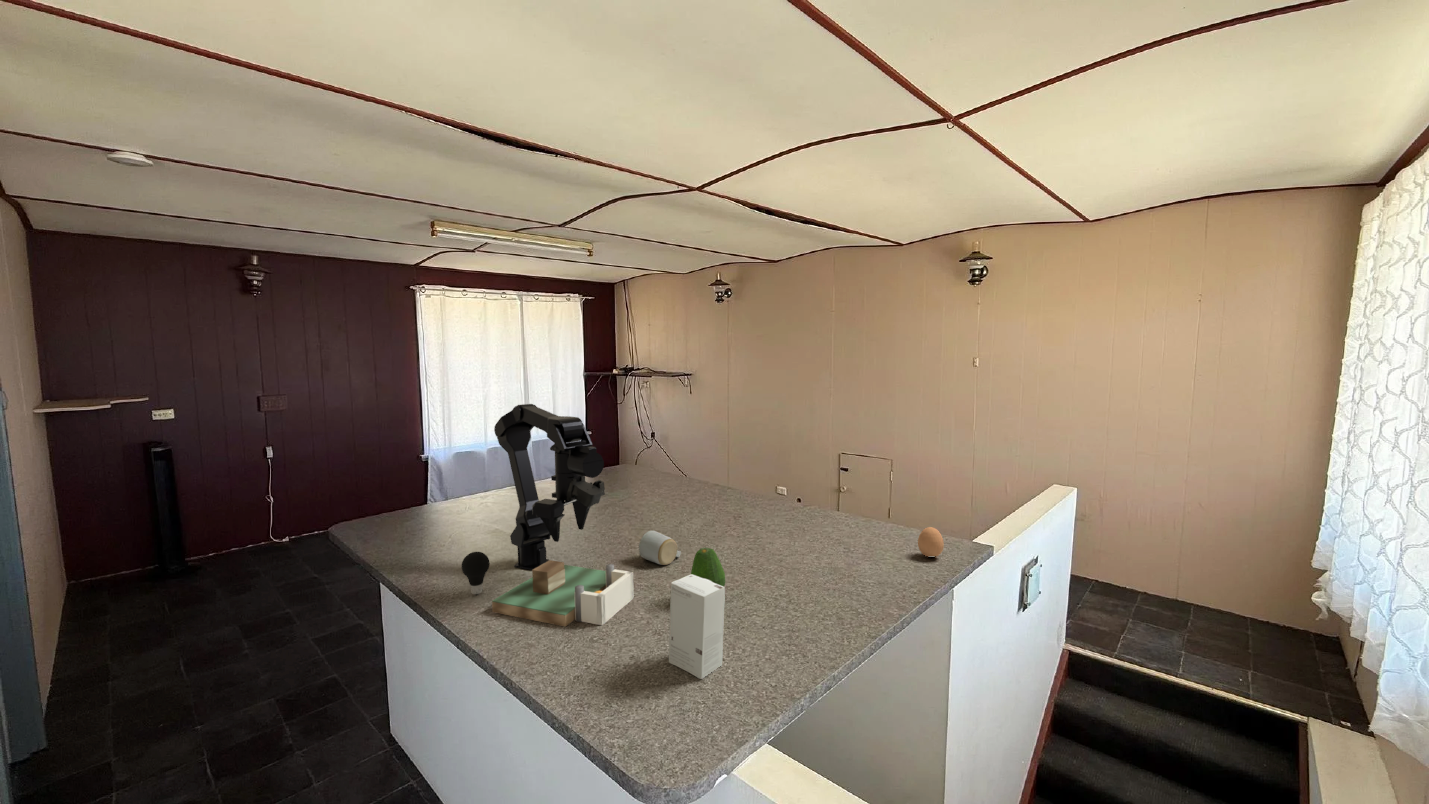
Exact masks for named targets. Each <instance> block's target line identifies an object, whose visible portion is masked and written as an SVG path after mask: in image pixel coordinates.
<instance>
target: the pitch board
mask: <svg viewBox="0 0 1429 804" xmlns="http://www.w3.org/2000/svg"><path fill="white" fill-rule="evenodd" d="M564 569H565V584H564V585H562V586H560V587H559V588H557V589H556V590H554V591H553V592H551V593H550V594H542V593H537V592H533V576H532V577H531V578H529V579H527V580H525V581H524V582H522V583H519V584H518V585H516V586H515V587H513V588H511V589H509V590H508V591H506V592H505V593H503V594H502V595H500V596H498V597H496V598H495V599H493V600H491V605H492V613H496V614H499V615H501V614H502V615H505V616H511V617H515V618H521V619H525V620H526V619H527V620H531V621H536V622H540V623H541V622H542V623H545V624H551V625H555V626H561V627H567V626H569V625H570V624H571V623H572V622H574V621H576V620H575V593H574V592H575V586H577V585H583V586H584V591H588V592H596V591H603V590H605V589H606V570H601V569H594V568H588V567H582V566H576V565H569V564H564Z"/></svg>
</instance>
